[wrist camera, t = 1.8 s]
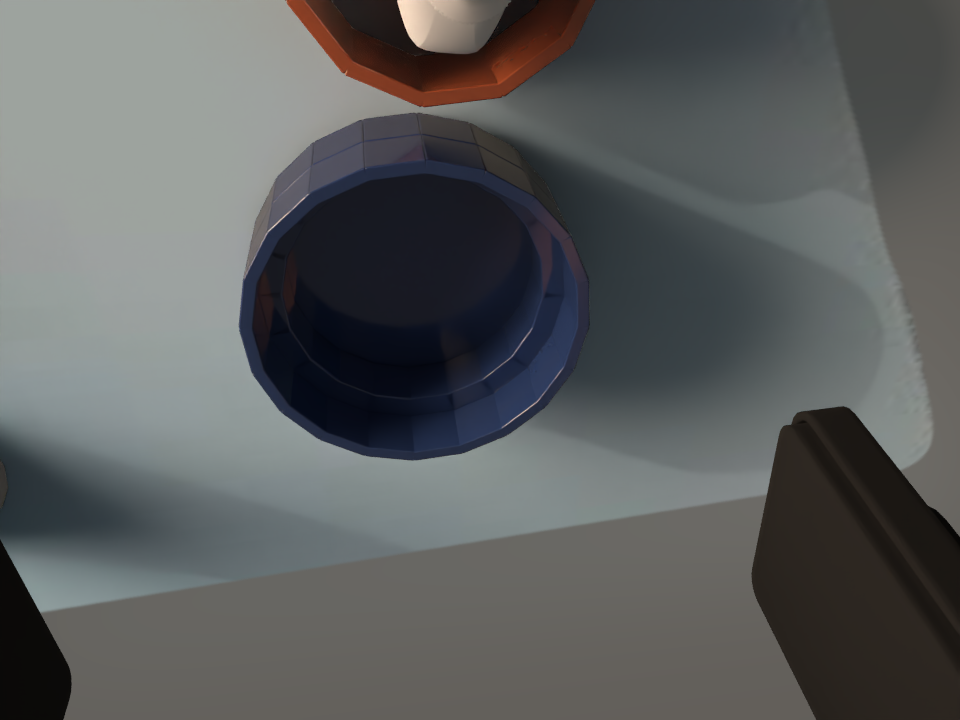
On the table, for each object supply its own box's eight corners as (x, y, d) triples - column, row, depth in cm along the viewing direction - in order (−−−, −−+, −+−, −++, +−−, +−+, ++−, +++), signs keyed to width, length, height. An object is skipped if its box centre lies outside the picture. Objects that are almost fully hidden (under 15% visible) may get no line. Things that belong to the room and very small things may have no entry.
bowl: (218, 131, 32) (196, 188, 28) (555, 89, 33) (588, 139, 28) (290, 400, 40) (283, 480, 35) (563, 361, 40) (590, 435, 36)
